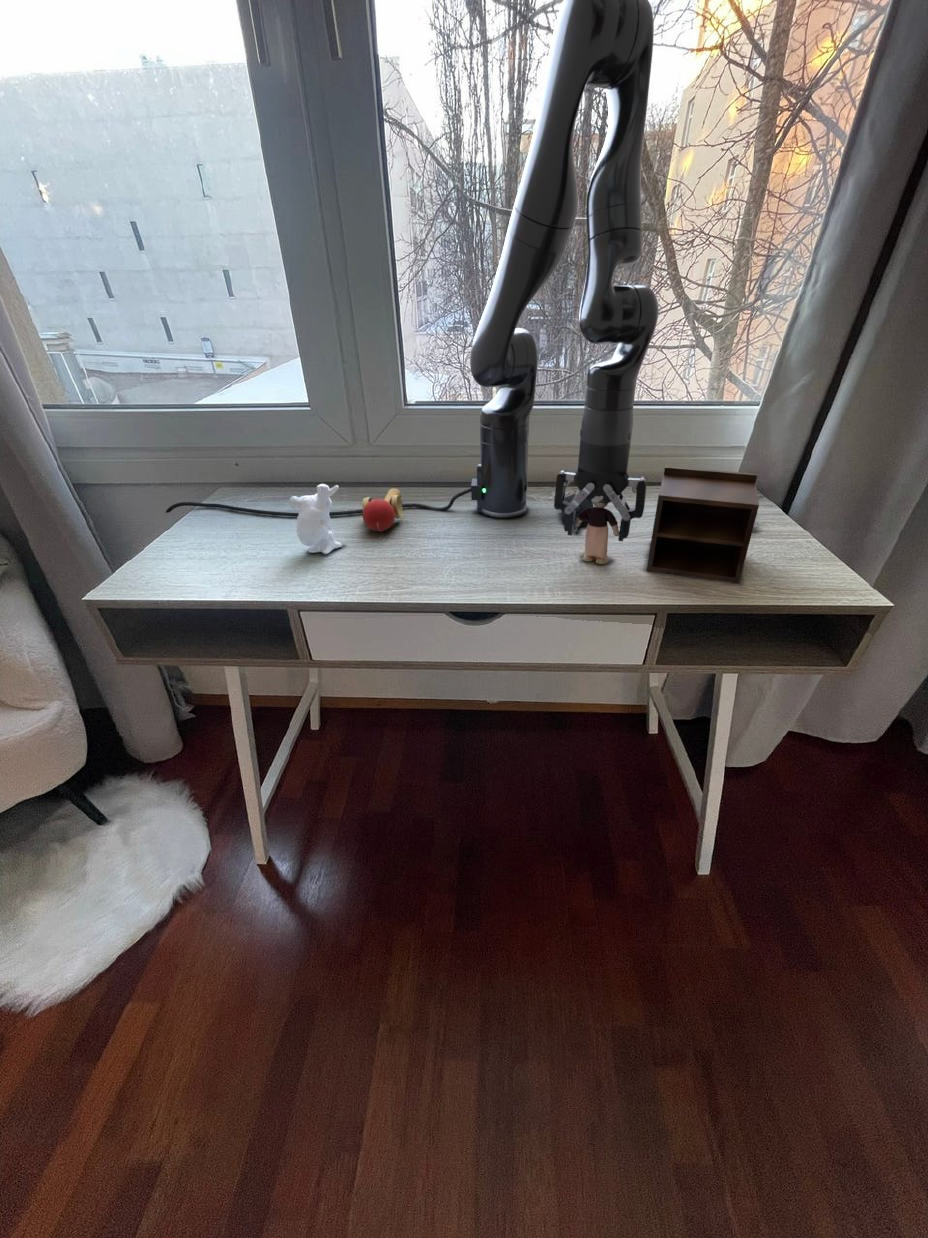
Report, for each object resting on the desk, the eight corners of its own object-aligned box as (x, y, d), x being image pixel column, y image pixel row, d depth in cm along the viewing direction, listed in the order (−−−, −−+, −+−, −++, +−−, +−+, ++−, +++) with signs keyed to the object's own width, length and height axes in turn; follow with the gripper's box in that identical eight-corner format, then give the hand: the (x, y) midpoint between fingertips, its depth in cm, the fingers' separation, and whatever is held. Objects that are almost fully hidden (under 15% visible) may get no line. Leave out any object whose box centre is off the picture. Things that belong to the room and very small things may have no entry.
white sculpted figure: (349, 541, 108) (341, 477, 102) (343, 557, 102) (334, 490, 96) (303, 542, 108) (292, 478, 102) (294, 558, 102) (282, 492, 96)
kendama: (373, 508, 126) (352, 530, 109) (377, 478, 123) (355, 496, 107) (409, 515, 126) (393, 538, 109) (413, 485, 123) (397, 505, 107)
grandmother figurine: (617, 558, 100) (628, 485, 94) (614, 567, 97) (625, 492, 91) (572, 551, 103) (580, 479, 96) (568, 560, 100) (575, 486, 93)
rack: (646, 570, 96) (659, 487, 89) (652, 543, 105) (665, 466, 97) (739, 583, 92) (761, 496, 84) (737, 554, 101) (757, 473, 93)
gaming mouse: (559, 532, 110) (560, 512, 107) (561, 504, 122) (562, 485, 120) (593, 534, 109) (595, 514, 106) (592, 505, 121) (594, 486, 119)
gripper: (656, 433, 90) (642, 533, 98) (564, 427, 94) (557, 523, 103) (652, 446, 84) (637, 551, 92) (553, 439, 88) (547, 540, 97)
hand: (595, 536), depth 98 cm, fingers closed on grandmother figurine, 8 cm apart
